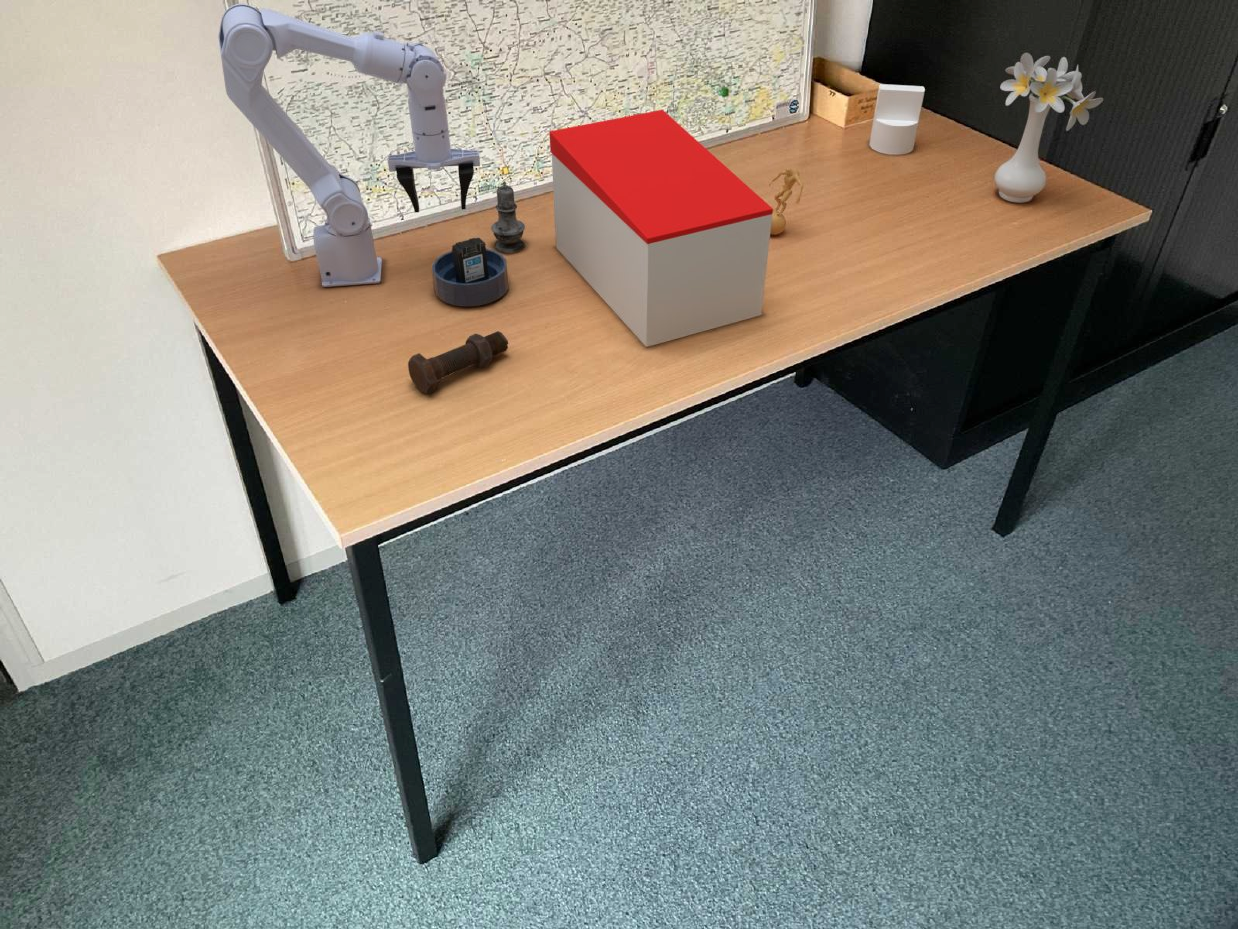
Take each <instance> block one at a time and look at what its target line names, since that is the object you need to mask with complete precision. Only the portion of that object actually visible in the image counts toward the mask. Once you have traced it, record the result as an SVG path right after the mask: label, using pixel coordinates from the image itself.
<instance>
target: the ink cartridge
mask: <svg viewBox="0 0 1238 929" xmlns="http://www.w3.org/2000/svg"><path fill="white" fill-rule="evenodd" d="M486 246H487V245H486V242H485V241H484V240H483V239H482V238H481V237H471V238H469V239H467V240H463V241H458V242H456V243H455V244H452V246H451V247H452V248H451V251H452V254H453V262H454V269H455V276H456V283H476V282H480V281H484V280H487V279H489V275H488V265H487V255H486V249H487V247H486Z"/></svg>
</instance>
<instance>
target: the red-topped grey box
mask: <svg viewBox="0 0 1238 929" xmlns="http://www.w3.org/2000/svg"><path fill="white" fill-rule="evenodd" d="M548 134H549V151H550V153H551V168H552V172H551V173H552V191H553V192H552V193H553V194H552V195H553V210H554V211H553V212H554V213H553V214H554V215H553V216H554V232H555V234H554V235H555V236H554V237H555V248H556V249H557V250H558V251H559V252H560V254H561V255H562V256H563V257H564V258H565V259H566V260H567V261H568V263H569V264H570V265H571V266H572V267H573V268H574V269H575V270H576V271H577V272H578V273H579V275H581V277H582V278H583V279H584V280H585V281H586V282H587V284H588V285H589V286H590V287H591V288H592V289H593V290H594V291H595V293H596V294H597V295H598V296H599V297H600V298H601V299H602V300H603V301H604V302H605V303H606V304H607V305H608V307H609V309H611V311H613V312H614V313H615V314H616V316H617V317H618V318H619V319H620V320H621V321H622V322H623V323H624V324H625V326H626V327H627V328H628V329H629V330H630V331H631V332H632V333H633V334H634V335H635V337H636V338H637V339H638V340H639V341H640V342H641V343H642V344H643V345H644V347H646V348H648V347H652V346H655V345H659V344H662V343H666V342H670V341H673V340H677V339H680V338H685V337H687V336H691V335H695V334H699V333H703V332H705V331H710V330H713V329H716V328H720V327H723V326H724V327H725V326H727V325H731V324H735V323H738V322H741V321H745V320H749V319H753V318H756V317H761V316H762V313H763V307H764V306H763V304H764V296H765V286H766V276H767V268H768V258H769V250H770V239H771V234H770V231H771V221H772V213H773V210H774V209H773V207H772V206H770V204H768V203H767V202H766V201H765V200H764V199H763V198H762V197H761V196H759V195H758V193H756V191H754V190H753V189H752V188H751V187H750V186H748V185H747V184H746V183H745V182H744V181H743V180H741V178H739V177H738V176H737V175H736V174H735V173H734V172H732V171H731V169H729V168H728V166H726V165H725V164H724V163H723V162H721V161H720V159H718V157H716V156H715V155H714V154H713V153H712V152H710V150H708V148H706V147H705V146H704V145H703V144H702V143H700V142H699V141H698V140H697V139H696V138H695V137H694V136H693V135H692V134H690V133H689V132H688V131H687V130H686V129H685V128H683V126H681V125H680V124H679V123H678V122H677V121H676V120H675V119H674V118H672V116H670V115H669V114H668V113H667V112H666V111H665V110H664V109H659V110H653V111H648V112H643V113H637V114H632V115H628V116H622V117H616V118H612V119H611V118H610V119H607V120H601V121H596V122H591V123H586V124H580V125H574V126H569V127H564V128H560V129H555V130H549V133H548Z"/></svg>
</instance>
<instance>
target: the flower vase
mask: <svg viewBox="0 0 1238 929" xmlns="http://www.w3.org/2000/svg"><path fill="white" fill-rule="evenodd" d="M1050 60H1051V56H1050V55H1045V56H1042V57H1040V58H1038V59H1037V60H1036V61H1035V62H1034V59H1033V56H1032V55H1031V54H1030V53H1029V52H1024V53H1023V54H1022V55H1021V56H1020V61H1017V62H1015V64H1014V66H1008V67H1007V68H1005V70H1004V71H1005V73H1007V74H1008V75H1009V74H1010V75H1013V76H1014V79H1007V80H1004V81H1003V82H1001V83H1000V87H999V88H1000V90H1001V91H1004V92H1010V93H1009V94H1008V96H1007V97H1006V99H1005V106H1007V107H1008V106H1010V105H1012V103H1014V101H1016V99H1018V97H1020V96H1021V97H1027V96H1028V95H1029V96H1028V99H1029V108H1028V115H1027V120H1026V124H1025V127H1024V130H1023V133H1022V136H1021V140H1020V142H1019V145H1018V147H1017V149H1016V150H1015V153H1013V155H1012V156H1011V157H1010V158H1009V159H1008V160H1006V161H1005V162H1004V163H1002V164H1001V165H999V166H998V168H997V169H996V171H995V173H994V175H993V182H994V185H995V187H996V188H997V190H998V195H999V197H1000V198H1002V199H1003V200H1005V201H1008V202H1010V203H1016V204H1023V203H1027V202H1030V201H1032V200H1033V198H1034V196H1036V195H1038V194H1039V193H1040V192H1042V191H1043V190H1044V188H1045V187H1046V184H1047V174H1046V171H1045V169H1044V168H1043V167H1042V165H1041V163H1040V160H1039V148H1040V142H1041V138H1042V134H1043V130H1044V125H1045V123H1046V120H1047V116H1048V114H1049V112H1050V109H1053V110H1054V111H1055V112H1056V113H1060V114H1061V113H1064V111H1065V110H1066V108H1065V104H1064V102H1063V100H1066V101H1067V102H1070V104H1072V108H1071V110H1070V112H1069V115H1070V116H1069V119H1068V122H1067V124H1066V128H1065V131H1066V132H1068V131H1069V130H1071V129H1072V128H1073V127H1074V125H1075V124H1076V123H1077V122H1076V121H1078V123H1079V124H1080V125H1082V126H1085V125H1086V124H1088V122H1089V120H1090V112H1089V111H1088V110H1091V109H1094V108H1096V107H1097V106H1098V107H1099V105H1100V104H1102V102H1103V101H1104V98H1103V97H1097V98H1094V97H1095V96H1096V93H1097V91H1096V90H1094V91H1092V92H1090V93H1089V94H1088V95H1087V96H1084V95H1083V83H1082V80H1081V79H1082V78H1083V75H1082V72H1080V71H1079V64H1077V66H1076V69H1075V70H1073V71H1069V72H1067V71H1068V68H1069V62H1068V60H1067V57H1065V56H1062V57H1061V58H1060V60H1059V62H1058V66H1057V69H1056V68H1053V67H1049V68H1048V69H1047V70H1046V69H1045V65H1047V64H1048V63H1049V61H1050ZM1030 91H1031V93H1030ZM1062 99H1063V100H1062ZM1075 99H1076V100H1077V101H1075Z"/></svg>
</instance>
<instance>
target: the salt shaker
mask: <svg viewBox="0 0 1238 929" xmlns="http://www.w3.org/2000/svg"><path fill="white" fill-rule="evenodd" d="M496 199H497V200H496V201H497V204H496V205H495V209H496V210H497V217H498V218H497V221H495V222H493V223H492V225H491V226H490V229H491V231H492V233H493V236H494V238H495V239H496V240H497V241H496V242H494V249H495V251H497V252H500V253H503V254H504V253H505V254H513V253H517V252H520V251H522V250H523V249H524V248H525V244H526V243H525V242H524V241H523V240H522V238H523V236H524V232H525V231H524V230H526V225H525V223H524V222H523V221H522V220H518V219H517V213H516V212H517V211H516V210H517V208H518V205H517V204H516V203H515V192H514V189H513V187H512V186H511V185H508V184H507V182H506V181H503V182H502V185H501V186H499V187H498V188H497V189H496Z"/></svg>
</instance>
